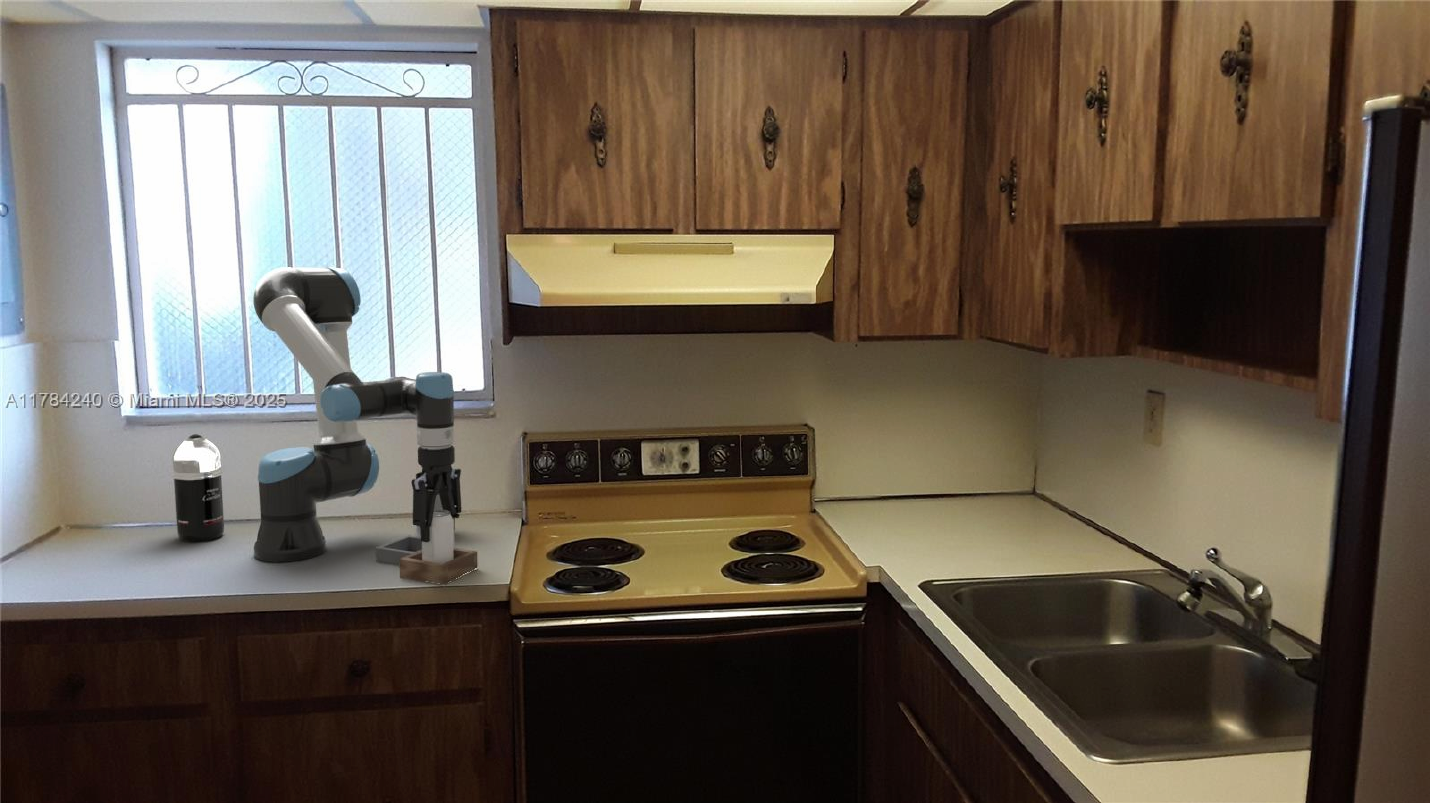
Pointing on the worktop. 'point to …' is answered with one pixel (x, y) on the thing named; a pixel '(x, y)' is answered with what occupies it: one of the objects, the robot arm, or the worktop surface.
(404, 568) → the brown open square box
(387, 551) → the grey square tray
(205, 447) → the spray bottle
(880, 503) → the worktop surface
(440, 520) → the can
